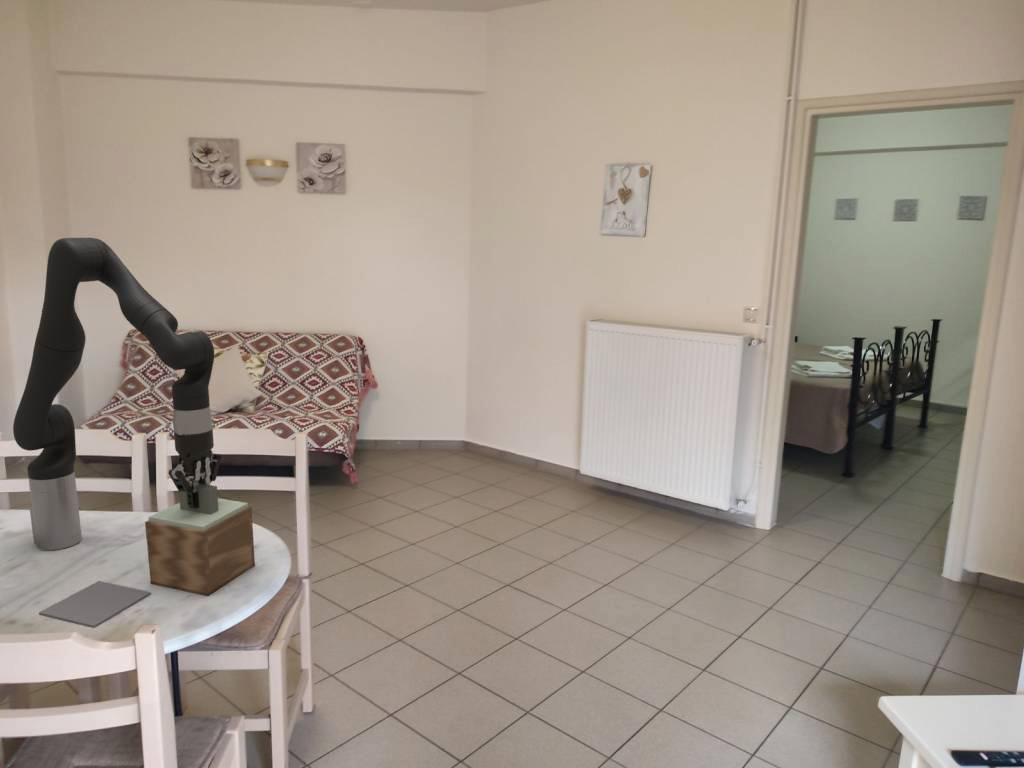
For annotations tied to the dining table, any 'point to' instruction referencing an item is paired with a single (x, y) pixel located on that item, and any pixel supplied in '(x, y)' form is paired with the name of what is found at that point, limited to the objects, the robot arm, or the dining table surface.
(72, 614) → the mat
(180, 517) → the lid
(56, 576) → the dining table surface
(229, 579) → the box
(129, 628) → the dining table surface
